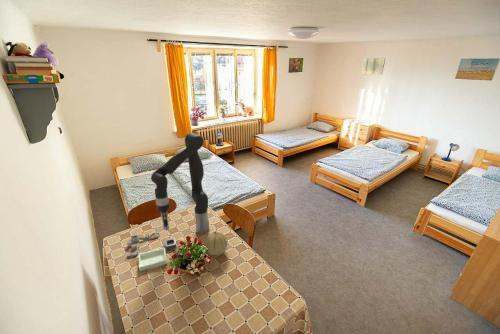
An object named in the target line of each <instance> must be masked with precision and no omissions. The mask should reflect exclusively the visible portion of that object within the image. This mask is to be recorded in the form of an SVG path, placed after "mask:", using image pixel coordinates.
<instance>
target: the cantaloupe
mask: <svg viewBox="0 0 500 334" xmlns="http://www.w3.org/2000/svg"><path fill="white" fill-rule="evenodd" d="M205 246H206V247H207V248H208V251H207V250H206V252H207V253H208V254H209V255H211V256H220V255H222V254H223V253H225V251H226V250H227V246H228V240H227V237H226V236H225V235H224V234H223V233H222V232H219V231H218V232H217V231H214V232H212V233H210V234H208V236H207V237H206V238H205V241H204V247H205Z"/></svg>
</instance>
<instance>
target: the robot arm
mask: <svg viewBox="0 0 500 334" xmlns="http://www.w3.org/2000/svg"><path fill="white" fill-rule="evenodd" d="M204 141H205V140H204V138H203V136H201V135H199V134H197V133H193V132H188V133H187V134H186V135H185V138H184V145H185V148H184V149H183V150H182V151H180V152H178V153H177V154H175V155H173V156H172V157H170V158H169V159H168V160H167V161H166V162H165V163H164V164H163V165H162V166H161V167H159V168H158V169H156V170H154V171H153V173H152V174H151V177H150V179H151V180H150V181H152V183H154V184H155V186H156V187H155V188H154V195H155V204H156V209H157V210H156V211H158V212H160V216H161V215H163V216H162V217H161V220H162V219H163V222H162V224H163V223H164V227H166V226H168V223H169V214H168V210H170V208H171V206H170V200H169V199H170V198H169V195H168V178H167V175H172V174H174V173H175V171H176V170H177V169H178V168H179V167H180V166H181V165H182V164H183V163H185V161H186V160H188V168H189V177H190V182H191V198H192V200H193V201H194V203H195V206H194V219H195V230H196V232H197V233H199V234H205V233H207V232H208V231H210V222H209V221H210V219H209V215H208V214H209V213H208V210H209V209H208V208H209V196H208V195H207V194H206V193H205V191H204V189H203V184H202V182H203V178H204V175H205V173H204V172H205V170H204V164H203V161H202V159H201V157H200V155H199V150H200V149H201V148H202V147H203V146H204ZM167 214H168V216H167V217H166V215H167ZM167 218H168V220H167Z"/></svg>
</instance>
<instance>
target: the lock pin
mask: <svg viewBox="0 0 500 334" xmlns="http://www.w3.org/2000/svg"><path fill="white" fill-rule="evenodd" d="M160 216H161V217H160V218H161V221H162V227H163V230H164V231H168V230H169V229H170V225H169V224H170V223H169V222H168V226H166V227H164V223H163V219H162V216H163V215H161V214H160ZM167 216H168V218H167V220H168V221H169V214H167V215H166V217H167Z"/></svg>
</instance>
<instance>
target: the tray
mask: <svg viewBox="0 0 500 334" xmlns="http://www.w3.org/2000/svg"><path fill="white" fill-rule="evenodd" d="M167 261H168V260H167V252H166V246H165V247H161V248H156V249H152V250H148V251H145V252H141V253H138V269H139V272H142V271H143V272H144V271H147V270H151V269H154V268H158V267H162V266H165V264H166V265H167V264H168V262H167Z"/></svg>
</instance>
